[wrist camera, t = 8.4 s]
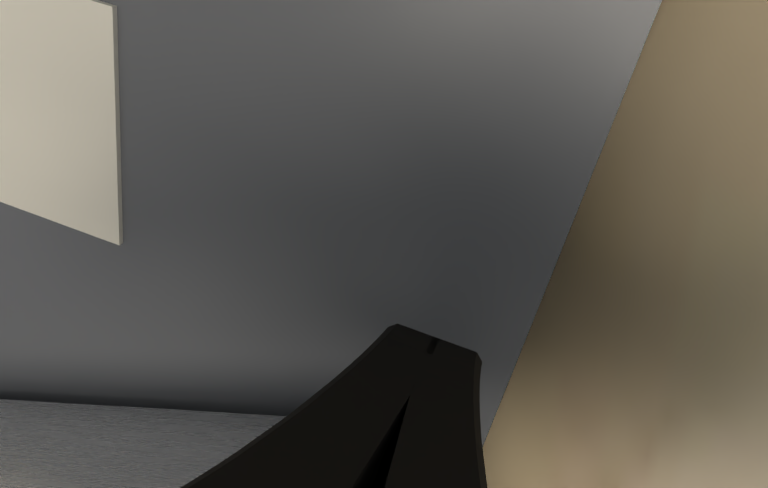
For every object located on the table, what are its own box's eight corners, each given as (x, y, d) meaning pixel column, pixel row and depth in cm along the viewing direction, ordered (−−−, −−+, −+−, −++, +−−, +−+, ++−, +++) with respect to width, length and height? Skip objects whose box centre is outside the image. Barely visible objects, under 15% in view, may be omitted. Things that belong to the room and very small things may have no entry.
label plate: (-127, 439, 19) (-155, 459, 18) (-375, -312, 10) (-448, -328, 9) (388, 676, 16) (377, 709, 15) (682, -66, 7) (689, -62, 6)
